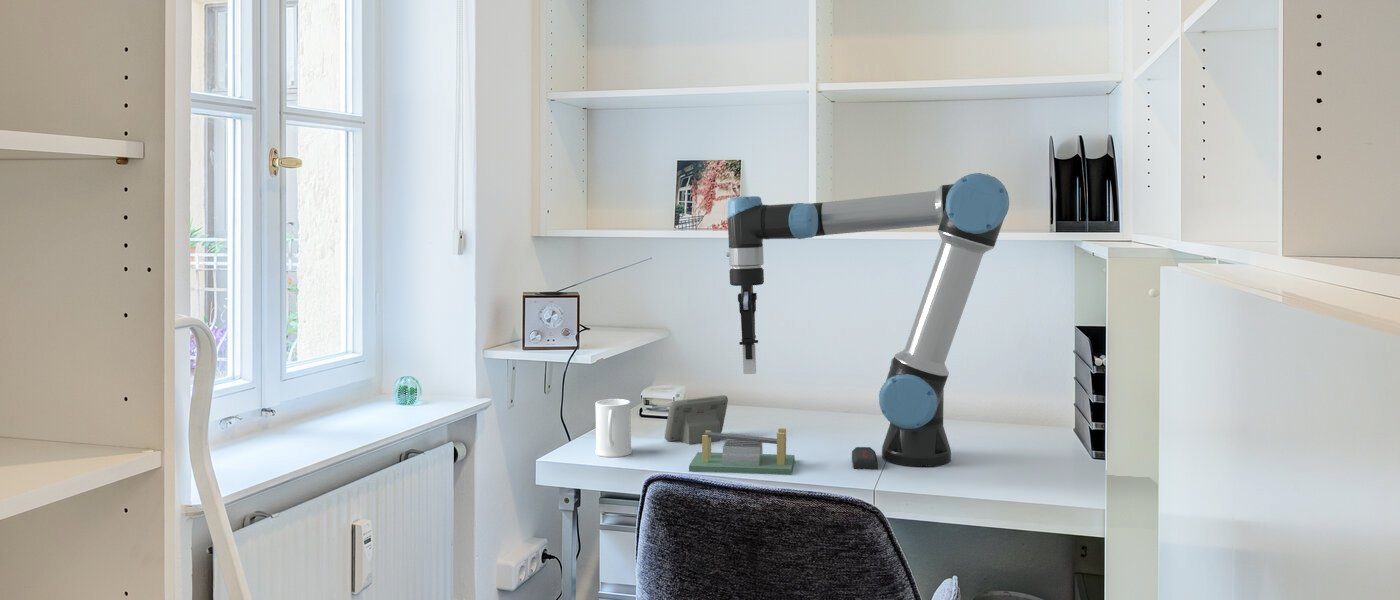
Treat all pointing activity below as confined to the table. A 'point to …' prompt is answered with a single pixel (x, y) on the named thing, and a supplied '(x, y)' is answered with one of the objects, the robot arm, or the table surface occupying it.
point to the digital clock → (695, 418)
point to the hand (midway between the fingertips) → (749, 373)
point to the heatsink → (742, 452)
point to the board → (768, 465)
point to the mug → (613, 428)
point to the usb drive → (864, 458)
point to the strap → (741, 437)
